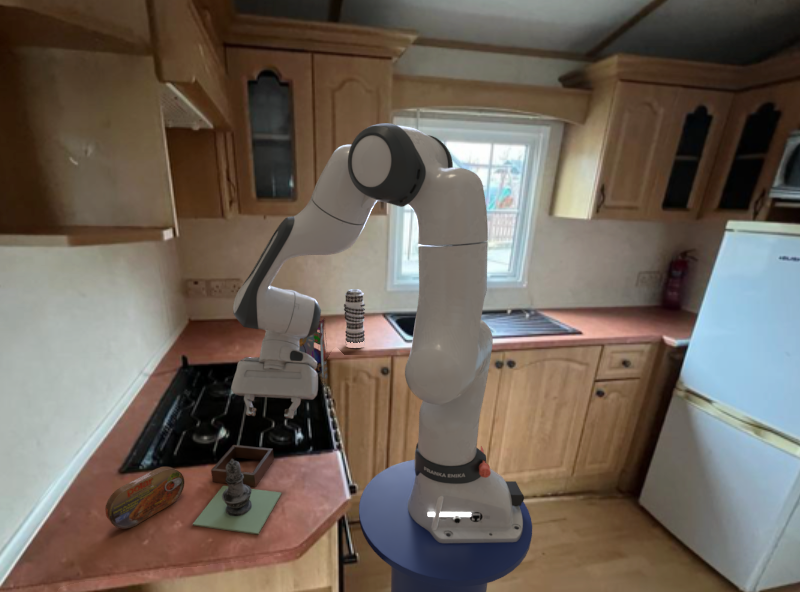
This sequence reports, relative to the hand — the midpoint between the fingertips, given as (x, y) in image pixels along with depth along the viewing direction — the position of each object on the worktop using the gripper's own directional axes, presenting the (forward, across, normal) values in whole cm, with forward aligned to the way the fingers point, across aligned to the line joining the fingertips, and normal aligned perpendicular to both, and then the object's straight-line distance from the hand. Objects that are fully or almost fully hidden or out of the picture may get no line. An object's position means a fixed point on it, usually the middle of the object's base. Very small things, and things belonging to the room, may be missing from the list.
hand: (269, 416), depth 92 cm
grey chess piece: (+20, -3, -1) cm, 20 cm away
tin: (+22, -21, -5) cm, 31 cm away
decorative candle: (-44, -7, +82) cm, 94 cm away
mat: (+20, -3, -1) cm, 20 cm away
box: (-19, -18, +49) cm, 56 cm away
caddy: (+12, -9, +9) cm, 17 cm away
